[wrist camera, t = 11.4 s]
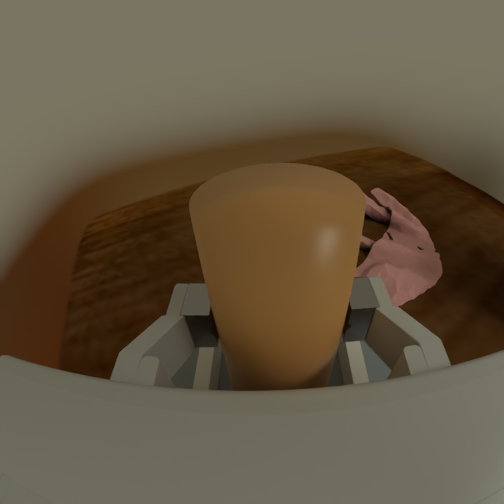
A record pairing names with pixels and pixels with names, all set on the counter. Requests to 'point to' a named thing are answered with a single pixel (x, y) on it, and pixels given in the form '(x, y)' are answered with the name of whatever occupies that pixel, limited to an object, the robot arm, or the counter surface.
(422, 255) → the cloth
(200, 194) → the tapered orange cylinder
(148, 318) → the counter surface
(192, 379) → the cylinder holder
